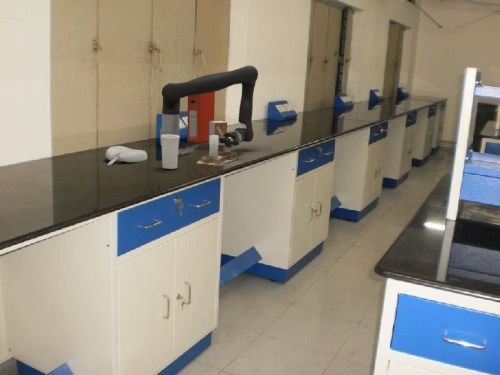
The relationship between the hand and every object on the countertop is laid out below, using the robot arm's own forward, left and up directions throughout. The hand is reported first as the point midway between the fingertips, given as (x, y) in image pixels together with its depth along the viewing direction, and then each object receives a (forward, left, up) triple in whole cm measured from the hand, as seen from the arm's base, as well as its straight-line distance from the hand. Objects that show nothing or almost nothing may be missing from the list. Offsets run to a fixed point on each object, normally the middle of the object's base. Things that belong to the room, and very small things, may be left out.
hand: (219, 143), depth 261 cm
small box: (-18, +41, -9) cm, 46 cm away
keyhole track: (0, -2, -8) cm, 9 cm away
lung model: (-37, -26, -9) cm, 46 cm away
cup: (-12, -28, -8) cm, 31 cm away
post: (0, -7, -7) cm, 10 cm away
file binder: (-32, +49, -9) cm, 59 cm away
